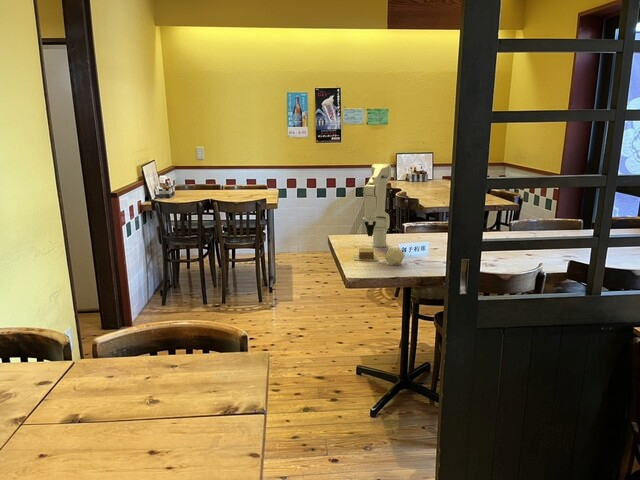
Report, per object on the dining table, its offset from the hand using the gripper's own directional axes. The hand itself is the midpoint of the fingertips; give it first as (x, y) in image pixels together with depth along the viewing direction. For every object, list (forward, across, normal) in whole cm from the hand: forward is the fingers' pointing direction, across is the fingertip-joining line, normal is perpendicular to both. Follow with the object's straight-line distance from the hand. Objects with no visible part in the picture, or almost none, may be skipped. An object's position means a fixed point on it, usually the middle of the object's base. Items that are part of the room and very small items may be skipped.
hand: (370, 236), depth 233 cm
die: (+10, +14, +11) cm, 21 cm away
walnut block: (+8, -1, -2) cm, 8 cm away
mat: (+10, +4, -2) cm, 11 cm away
